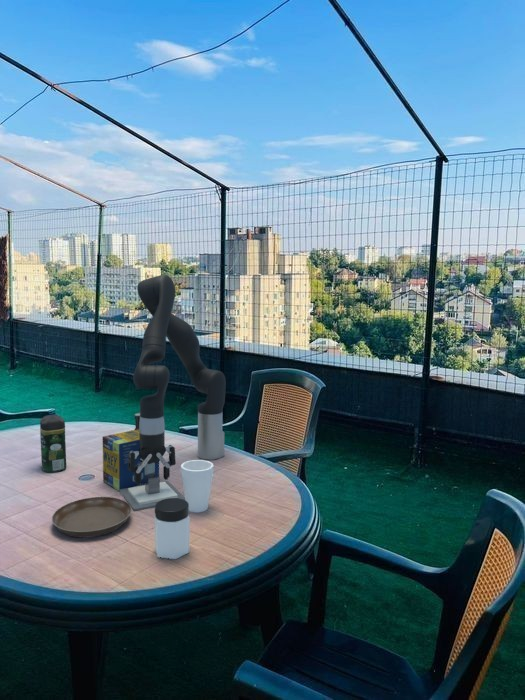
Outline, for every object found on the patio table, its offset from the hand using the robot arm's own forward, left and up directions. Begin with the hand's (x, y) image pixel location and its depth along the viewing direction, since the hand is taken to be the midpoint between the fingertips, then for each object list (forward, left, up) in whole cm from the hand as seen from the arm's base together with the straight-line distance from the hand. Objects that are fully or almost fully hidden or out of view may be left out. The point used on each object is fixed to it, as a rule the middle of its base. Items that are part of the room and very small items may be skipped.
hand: (152, 481), depth 162 cm
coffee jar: (+23, -38, -5) cm, 45 cm away
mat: (0, 0, -5) cm, 5 cm away
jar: (+6, +34, -5) cm, 35 cm away
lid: (0, 0, -4) cm, 4 cm away
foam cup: (-9, +14, -5) cm, 17 cm away
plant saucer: (+20, +10, -5) cm, 23 cm away
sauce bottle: (-4, -24, -5) cm, 24 cm away
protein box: (+2, -15, -5) cm, 16 cm away
